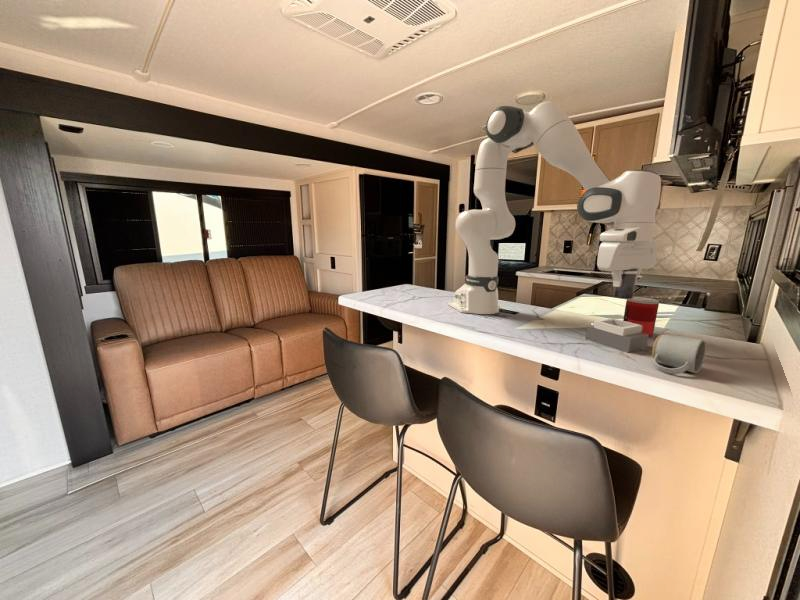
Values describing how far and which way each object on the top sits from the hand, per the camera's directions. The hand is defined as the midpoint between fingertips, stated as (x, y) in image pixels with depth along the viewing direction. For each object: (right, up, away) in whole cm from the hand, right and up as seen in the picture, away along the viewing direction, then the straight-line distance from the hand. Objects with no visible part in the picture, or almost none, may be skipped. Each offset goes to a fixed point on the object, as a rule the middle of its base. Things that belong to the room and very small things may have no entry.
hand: (624, 285), depth 85 cm
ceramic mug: (+3, -20, -12) cm, 24 cm away
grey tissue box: (0, -16, +4) cm, 17 cm away
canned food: (+13, -15, +13) cm, 23 cm away
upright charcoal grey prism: (0, -3, +1) cm, 3 cm away
